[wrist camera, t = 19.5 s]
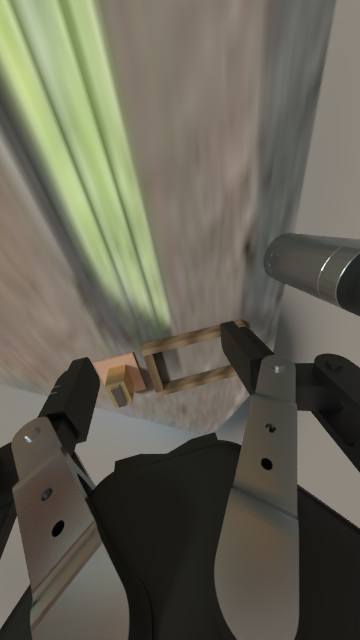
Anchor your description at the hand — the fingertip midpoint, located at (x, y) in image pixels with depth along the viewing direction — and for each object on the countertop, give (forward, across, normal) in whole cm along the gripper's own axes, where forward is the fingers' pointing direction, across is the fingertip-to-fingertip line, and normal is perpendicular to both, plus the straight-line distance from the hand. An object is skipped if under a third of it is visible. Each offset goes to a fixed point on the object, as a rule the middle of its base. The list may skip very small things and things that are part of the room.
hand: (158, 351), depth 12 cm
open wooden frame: (+28, -6, +25) cm, 38 cm away
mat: (+28, +13, +25) cm, 40 cm away
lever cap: (+28, +13, +25) cm, 40 cm away
